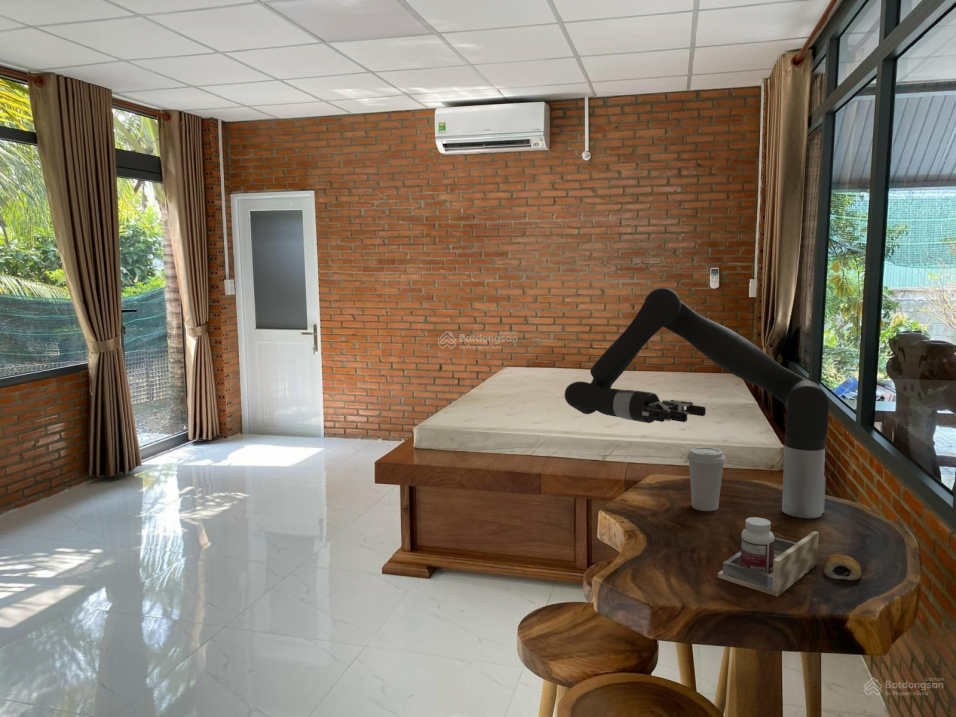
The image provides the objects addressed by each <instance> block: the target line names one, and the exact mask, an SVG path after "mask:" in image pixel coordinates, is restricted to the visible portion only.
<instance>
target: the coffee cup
mask: <svg viewBox="0 0 956 717" xmlns="http://www.w3.org/2000/svg"><path fill="white" fill-rule="evenodd" d="M686 459H687V460H688V466H689V468H688V470H689V482H690V483H689V484H690V496H691V497H690V498H691V499H690V500H691V507H692V508H693V509H695V510H698V511H701V512H702V511H703V512H714V511H717V510H718V509H719V505H720V494H721V488H722V487H721V486H722V479H723V472H724V471H723V470H724V469H723V468H724V463H725V462H726V455H724V452H723V450H721V449H719V448H714V447H709V446H698V447H697V446H696V447H691V448H690V450H689V452H688V453H687V455H686Z"/></svg>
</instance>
